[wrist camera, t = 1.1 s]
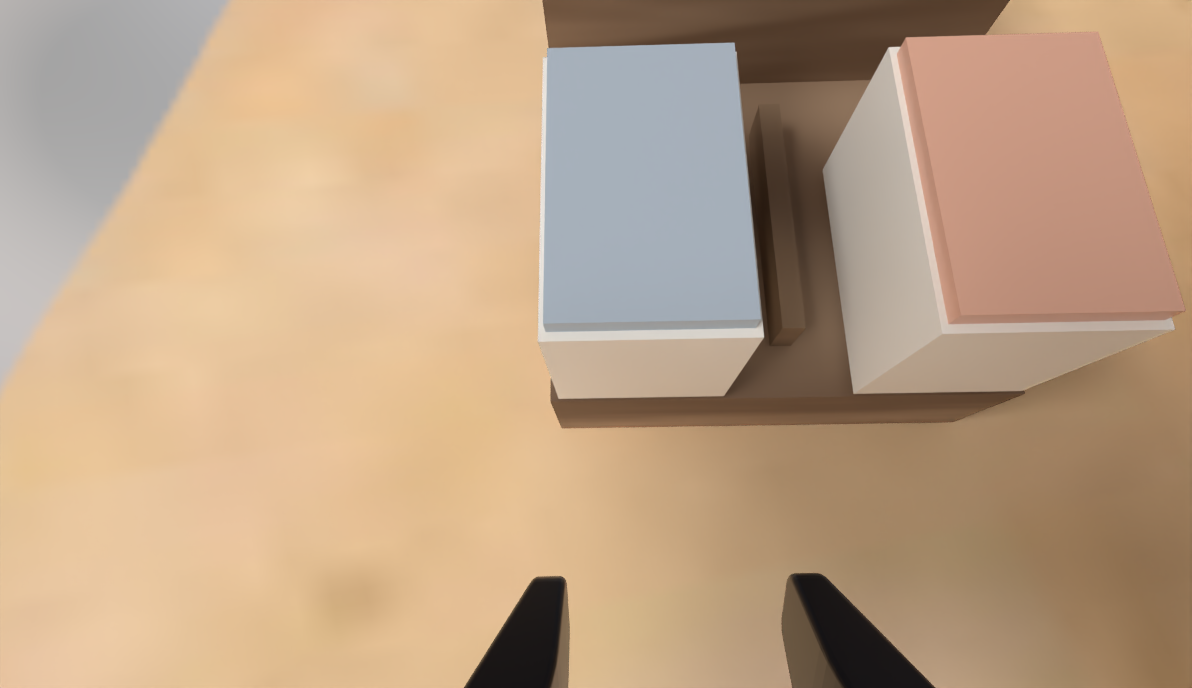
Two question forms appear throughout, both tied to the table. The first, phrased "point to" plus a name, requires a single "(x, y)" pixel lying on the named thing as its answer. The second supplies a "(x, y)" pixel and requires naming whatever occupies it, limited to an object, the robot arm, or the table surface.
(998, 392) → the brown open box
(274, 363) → the table surface
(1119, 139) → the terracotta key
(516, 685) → the robot arm
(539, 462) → the table surface
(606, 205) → the slate key
